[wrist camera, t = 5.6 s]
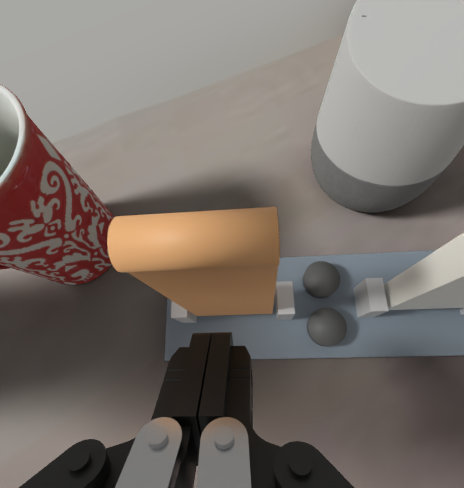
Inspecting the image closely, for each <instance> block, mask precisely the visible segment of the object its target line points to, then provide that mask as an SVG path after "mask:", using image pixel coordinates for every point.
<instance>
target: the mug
mask: <svg viewBox="0 0 464 488" xmlns="http://www.w3.org/2000/svg"><path fill="white" fill-rule="evenodd" d="M114 218H115V217H114V216H113V214H112V213H111V212H110V211H109V210H108V208H107V207H106V206H105V205H104V204H103V203H102V202H101V201H100V200H99V198H98V197H97V196H96V195H95V193H94V192H93V191H92V190H91V189H90V188H89V186H88V185H87V184H86V183H85V182H84V181H83V179H82V178H81V177H80V176H79V175H78V174H77V173H76V171H75V170H74V169H73V168H72V167H71V165H70V164H69V163H68V162H67V161H66V160H65V158H64V157H63V156H62V155H61V154H60V153H59V151H58V150H57V149H56V148H55V147H54V146H53V144H52V143H51V142H50V141H49V140H48V139H47V137H46V136H45V135H44V134H43V133H42V132H41V131H40V129H39V128H38V127H37V126H36V125H35V124H34V123H33V121H32V120H31V119H30V118H29V116H28V115H27V114H26V111H25V109H24V107H23V105H22V104H21V102H20V100H19V99H18V98H17V97H16V96H15V95H14V94H13V93H12V92H11V91H10V90H9V89H7V88H6V87H4V86H3V85H1V84H0V269H8V268H13V269H16V270H20V271H23V272H26V273H30V274H33V275H36V276H40V277H43V278H46V279H49V280H51V281H56V282H59V283H62V284H67V285H78V284H84V283H87V282H90V281H92V280H95V279H96V278H98V277H99V276H101V275H102V274H103V273H105V272H106V271H107V270H108V269H109V268H110V267H111V265H112V263H111V261H110V257H109V253H108V246H107V237H108V230H109V226H110V223H111V221H112V220H113V219H114Z"/></svg>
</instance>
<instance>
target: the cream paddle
mask: <svg viewBox="0 0 464 488" xmlns="http://www.w3.org/2000/svg"><path fill="white" fill-rule="evenodd" d="M384 289H385V294H386V300H387V305H388V310H408V309H440V308H464V233H462V234H461V235H459V236H458V237H456V238H454V239H453V240H451V241H450V242H448V243H447V244H445V245H444V246H442V247H441V248H439V249H437V250H436V251H434V252H433V253H431V254H430V255H428V256H427V257H425V258H424V259H422V260H421V261H419V262H417V263H416V264H414V265H413V266H411V267H410V268H408V269H407V270H405V271H404V272H402V273H401V274H399V275H397V276H396V277H394V278H393V279H391V280H390V281H388V282H387V283H385V284H384Z"/></svg>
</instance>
